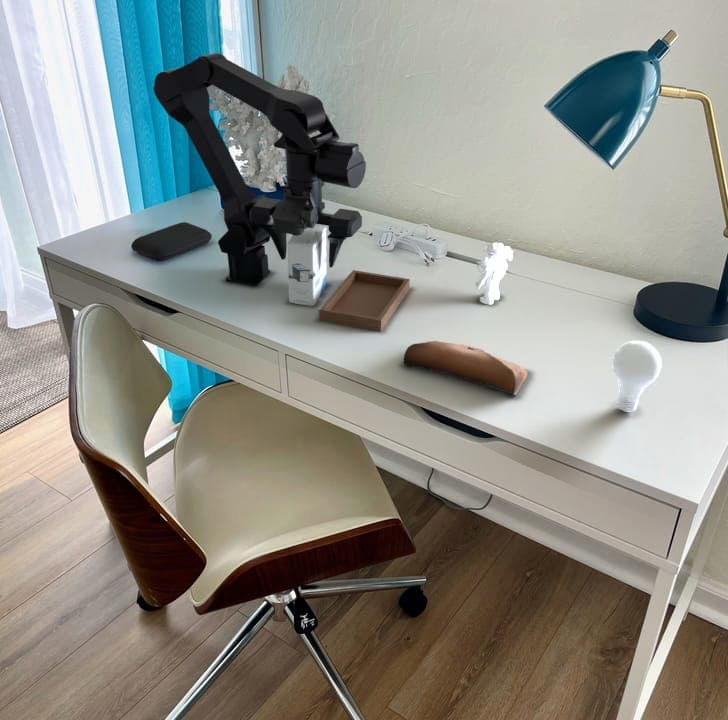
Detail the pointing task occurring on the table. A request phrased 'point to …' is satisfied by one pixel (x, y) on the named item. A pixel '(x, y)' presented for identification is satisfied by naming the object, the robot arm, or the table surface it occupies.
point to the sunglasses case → (467, 364)
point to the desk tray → (365, 300)
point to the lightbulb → (634, 371)
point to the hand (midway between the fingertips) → (307, 262)
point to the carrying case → (171, 241)
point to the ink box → (307, 266)
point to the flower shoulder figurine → (493, 270)
